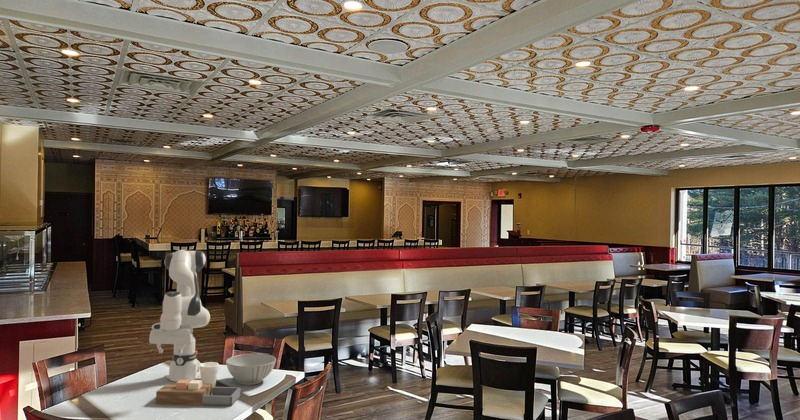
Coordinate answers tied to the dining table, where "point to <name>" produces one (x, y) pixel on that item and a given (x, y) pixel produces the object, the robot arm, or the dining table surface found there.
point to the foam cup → (209, 372)
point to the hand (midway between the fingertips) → (170, 352)
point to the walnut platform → (182, 395)
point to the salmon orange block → (182, 384)
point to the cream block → (195, 384)
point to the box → (222, 396)
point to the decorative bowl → (250, 367)
